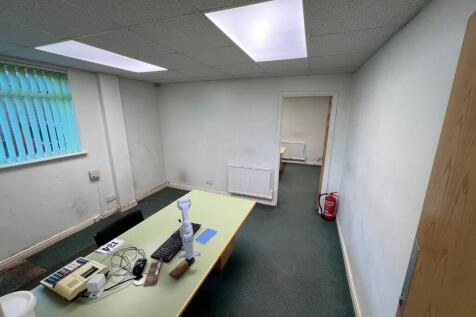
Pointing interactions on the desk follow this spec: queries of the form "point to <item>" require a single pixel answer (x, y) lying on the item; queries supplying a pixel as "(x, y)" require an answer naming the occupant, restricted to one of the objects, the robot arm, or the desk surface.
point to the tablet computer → (206, 236)
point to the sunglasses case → (180, 269)
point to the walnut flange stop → (153, 273)
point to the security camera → (96, 285)
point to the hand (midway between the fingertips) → (190, 265)
